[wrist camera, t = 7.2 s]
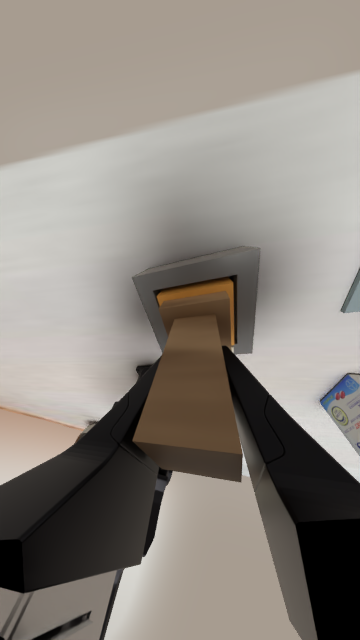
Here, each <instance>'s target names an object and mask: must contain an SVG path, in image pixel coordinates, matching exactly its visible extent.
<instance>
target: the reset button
mask: <svg viewBox="0 0 360 640" xmlns="http://www.w3.org/2000/svg"><path fill="white" fill-rule="evenodd" d="M222 291H226V292H227V294H228V296H229V298H230V321H231V345H234V295H233V282H232V281H231V279H230V278H229V277H228V276H226V277H221V278H216V279H210V280H205V281H200V282H195V283H189V284H184V285H179V286H174V287H168V288H163V289H162V290H161V292H160V293H159V294H158V295H157V299H158V302H159V305H160V306H161V304H162V303H163V301H167V300H173V299H179V298H185V297H192V296H198V295H204V294H210V293H216V292H222Z"/></svg>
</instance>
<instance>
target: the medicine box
mask: <svg viewBox="0 0 360 640" xmlns="http://www.w3.org/2000/svg"><path fill="white" fill-rule="evenodd" d="M320 403H321V405H322V406H323V407H324V409H325V410H326V412H327V413H328V414H329V415H330V417H331V418H332V420H333V421H334V422H335V424H336V425H337V426H338V428H339V429H340V430H341V432H342V433H343V434H344V436H345V437H346V438H347V440H348V441H349V442H350V444H351V445H352V447H353V448H354V449H355V451H356V452H357V453H358V455H359V456H360V375H353V374H347V375H346V376H345V377H344V378H343V379H342V380H341V381H340V382H339V383H338V384H337V385H336V386H335V387H334V388H333V389H332V390H331V391H330V393H328V394H327V396H326V397H325V398H324V399H323V400H322V401H321V402H320Z"/></svg>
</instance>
